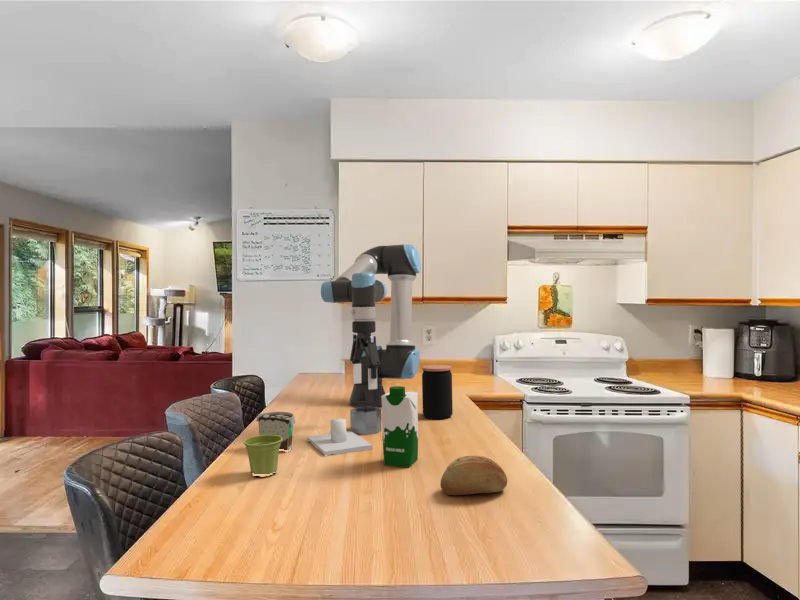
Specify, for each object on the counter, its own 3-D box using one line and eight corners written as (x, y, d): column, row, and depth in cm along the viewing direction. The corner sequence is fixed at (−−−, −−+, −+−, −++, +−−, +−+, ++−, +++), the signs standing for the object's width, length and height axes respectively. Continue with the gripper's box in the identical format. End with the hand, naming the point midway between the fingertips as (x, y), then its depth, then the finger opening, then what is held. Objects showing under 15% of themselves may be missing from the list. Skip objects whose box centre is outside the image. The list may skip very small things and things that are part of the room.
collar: (347, 429, 176) (347, 408, 176) (373, 426, 180) (373, 405, 180) (357, 436, 167) (357, 413, 167) (384, 432, 171) (384, 410, 171)
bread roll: (514, 499, 114) (514, 461, 114) (445, 503, 112) (445, 465, 112) (500, 483, 124) (500, 448, 124) (437, 487, 122) (436, 452, 122)
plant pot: (248, 483, 127) (247, 446, 126) (240, 472, 135) (240, 437, 135) (287, 476, 131) (286, 441, 131) (277, 466, 139) (276, 432, 139)
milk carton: (379, 466, 137) (377, 388, 137) (391, 456, 146) (390, 382, 146) (412, 469, 134) (410, 389, 134) (422, 458, 143) (420, 383, 143)
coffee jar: (452, 413, 197) (451, 364, 196) (452, 420, 186) (451, 368, 186) (423, 413, 198) (422, 364, 197) (421, 420, 187) (420, 368, 187)
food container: (304, 447, 156) (303, 413, 156) (291, 453, 150) (291, 417, 150) (270, 443, 161) (269, 410, 161) (257, 448, 156) (256, 414, 155)
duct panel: (307, 440, 163) (306, 417, 163) (350, 434, 169) (350, 412, 169) (325, 456, 147) (324, 430, 147) (372, 449, 153) (371, 423, 153)
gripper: (340, 319, 183) (341, 382, 183) (367, 321, 160) (368, 392, 160) (360, 319, 186) (361, 380, 186) (390, 321, 164) (391, 390, 163)
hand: (364, 386), depth 173 cm, fingers open, 13 cm apart
